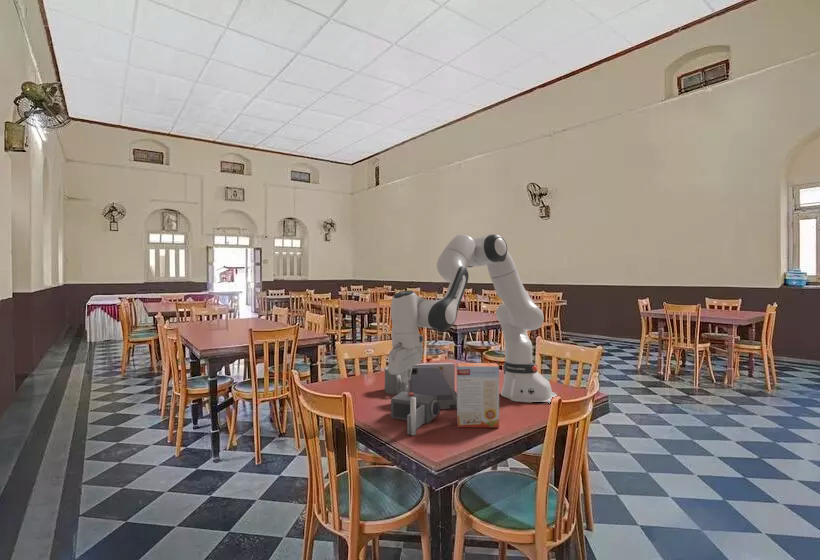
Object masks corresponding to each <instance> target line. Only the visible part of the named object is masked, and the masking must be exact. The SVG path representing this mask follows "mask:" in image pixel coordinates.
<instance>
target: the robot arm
mask: <svg viewBox="0 0 820 560" xmlns="http://www.w3.org/2000/svg"><path fill="white" fill-rule="evenodd" d="M482 266H486V267H487V271H488V274H489V277H490V279H491V283H492V285H493V287H494V291H495V293H496V295H497V297H498V298H499V299H500V300H501V301H502V303H500V304H499V305H498V306H497V308H496V310H495V316H496V319H497V320H498V322H499V324H500V328H501V331H502V335H503V340H504V362H503V375H504V377H503V384H502V388H501V392H500V395H501V396H502V397H504V398H507V399H509V400H510V401H512V402H518V403H519V402H520V403H532V402H548V403H549V404H550V402H551V399H552V397H555V396H557V397H558V394H557V393H556V392H553V391H552V386H551V382H550V381H549V380H548V379H547V378H546V377H544V376H543V375H542V374H541V373H540V372H538V363H535V362H534V361H533V343H532V341H531V339H530V337H529V334H528V332H527V331H535V330H539V329H540V328H541V327H542V325H543V323H544V321H545V320H544V319H545V317H544V316H545V315H544V311H542V309H541V308H540V307H539V306H537V305H536V304H535V302H534V301H533V300H532V298H531V296H530V295H529V293H528V292H527V290H526V288H525V286H524V285H523V281H522V279H521V277H520V274H519V272H518V269H517V266H516V264H515V261H514V259H513V257H512V255H511V253H510V251H509V250H508V245H507V242H506V240H505V239H504V238H503V237H502V236H501V235H499V234H488V235H485V236H480V237H476V238H474V239H473V237H472V236H470V235H468V234H465V233H464V234H462V233H461V234H457V235H456V236H455V237H453V238H452V239H451V240H450V241H449V243H447V244H446V247H444V249H443V250H442V252H441V254H440V255H439V257H438V259H437V262H436V269H437V272H438V273H439V275H440V277H441V278H442V279H443V280H445V281H446V282H449V284H448V287H447V290H446V292H445V295H444V296H443V297H442V298H440V299H426V298H423V297H420V296H418V295H417V294H416V291H413V290H402V291H397V292H396V293H394V294H393V295H392V299H391V304H390V317H391V324H392V328H391V346H392V348H391V350H390V351H389V354H388V366H387V367H388V370H389V373H390V374H391V375H400V374H401V376H402V382H403V383H407V382H409V381H410V380H411V372H412V367H413V366H414V365H416V364H420V363H421V362H422V359H423V343H422V342H423V341H424V335H422V334H419V328H424V329H425V328H426V329H433V330H436V331H441V332H446V331H448V330H450V329H451V328H452V327H453V326H454V325H455V323H456V320H457V316H458V311H459V308H460V304H461V301H462V298H463V297H464V293H465V290H466V288H467V285H468V282H469V271H468V268H473V267H482ZM548 403H547V404H548ZM549 404H548V405H549Z"/></svg>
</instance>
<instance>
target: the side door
mask: <svg viewBox="0 0 820 560" xmlns="http://www.w3.org/2000/svg"><path fill="white" fill-rule="evenodd" d="M406 423H407V425H406V427H407V428H406V429H407V430H406V434H407V435H411V436H417V429H418V428H420V427H421V426H422V425H423V424H425V423H424V405H421V406H420V407H419V408H417V409H416V397H411V398H410V414H409V415H407V420H406Z"/></svg>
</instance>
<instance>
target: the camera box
mask: <svg viewBox="0 0 820 560" xmlns="http://www.w3.org/2000/svg"><path fill="white" fill-rule="evenodd" d="M411 397H416V409H417V408H419V407H420V406H421V405H424V424H429V423H431V422H432V420H434V419H435V418H436V417H437V416H438V415H440V412H441V409H440V403H439V402H437V396H431V395H423V394H414V393H413V392H409V393H406V392H401V393H399V394H397V395H394V396H393V397H391V398H390V403H391V404H390V418H391V419H394V418H396V419H395V420H401V419H402V421H407V415H409V414H410V398H411Z"/></svg>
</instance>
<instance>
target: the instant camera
mask: <svg viewBox="0 0 820 560" xmlns="http://www.w3.org/2000/svg"><path fill="white" fill-rule="evenodd" d="M455 367H456V366H455V364H454V362H429V363H428V362H427V363H426V362H422V363H421V362H420V363H418V364H416V365H414V366H413V367H412V372H411V380H410V381H409V382H408V386H406V388H407V393H409V392H413V393H414V394H423V395H431V396H437V402H439V403H440V410H449V409H450V410H451V409H453V410H454V409H457V391H456V390H455V387H456V386H455V385H456V384H455V383H456V381H455V378H456V377H455V375H456V374H455V372H456V370H455Z"/></svg>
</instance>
